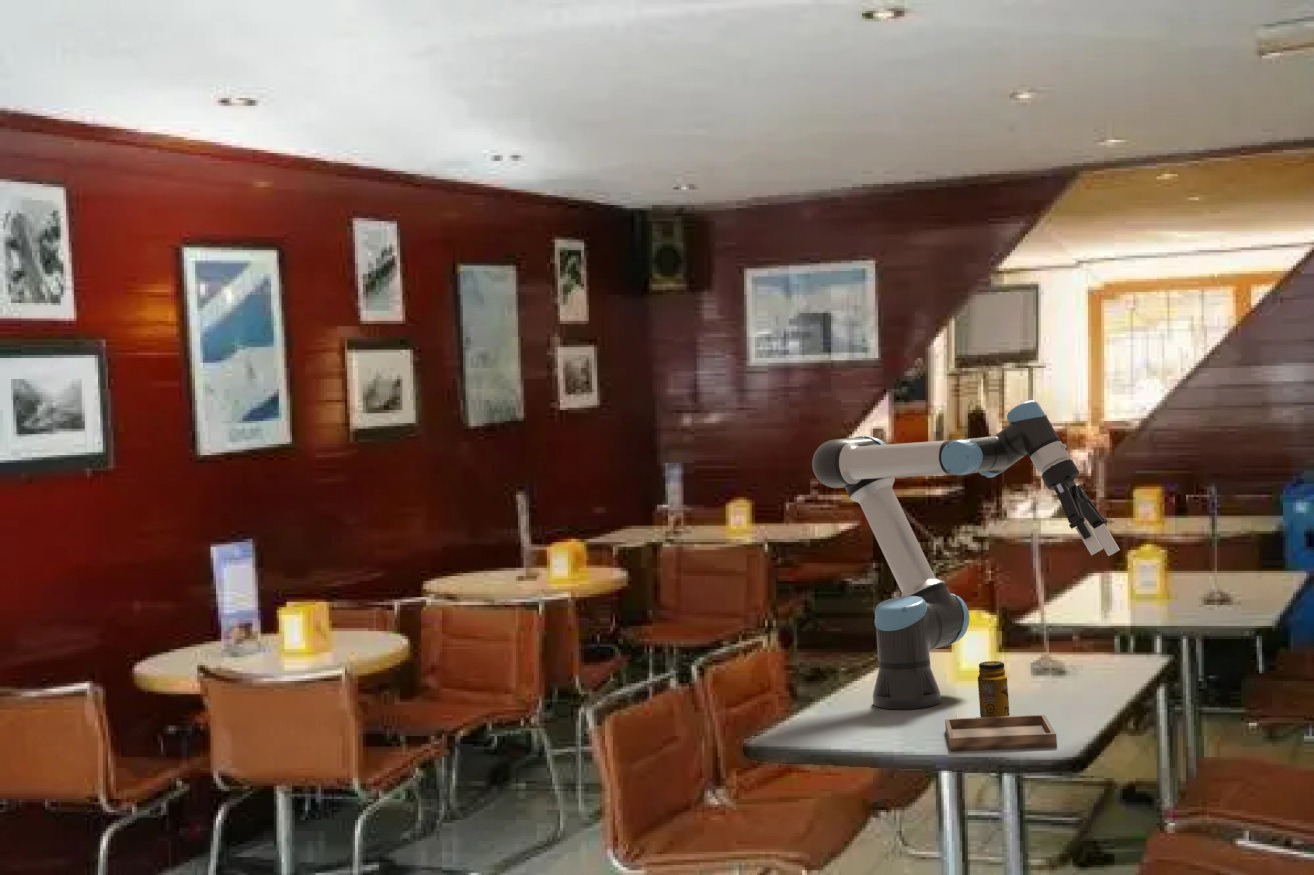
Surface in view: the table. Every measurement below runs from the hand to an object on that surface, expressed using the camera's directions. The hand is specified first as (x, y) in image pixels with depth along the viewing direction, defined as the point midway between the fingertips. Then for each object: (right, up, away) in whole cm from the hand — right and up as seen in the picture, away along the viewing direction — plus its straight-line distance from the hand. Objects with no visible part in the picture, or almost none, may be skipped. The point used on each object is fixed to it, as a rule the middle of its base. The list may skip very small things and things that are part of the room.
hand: (1105, 552), depth 315 cm
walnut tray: (-27, -35, -20) cm, 49 cm away
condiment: (-25, -35, -3) cm, 43 cm away
